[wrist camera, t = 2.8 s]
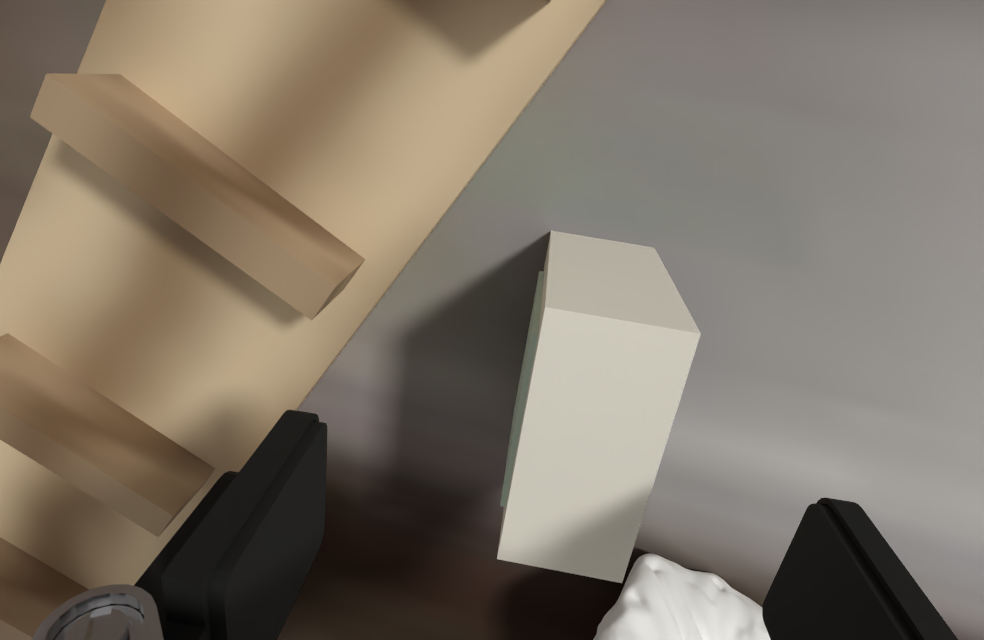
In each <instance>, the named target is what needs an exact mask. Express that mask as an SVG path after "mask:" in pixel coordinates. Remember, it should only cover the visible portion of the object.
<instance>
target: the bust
mask: <svg viewBox="0 0 984 640" xmlns="http://www.w3.org/2000/svg"><path fill="white" fill-rule="evenodd" d="M593 640H771V639H770V637H769V634H768V632H767V629H766V627H765V624H764V621H763V616H762V607H761V606H759V605H758V604H757V603H755V602H754V601H752V600H751V599H750V598H748V597H746V596H744V595H743V594H741V593H739V592H738V591H736V590H734V589H733V588H731V587H730V586H729V585H728V584H727V583H726V582H725V581H724V580H723V579H722V578H720V577H719V576H717V575H715V574H713V573H707V572H700V571H692V570H689V569H686V568H684V567H682V566H680V565H678V564H676V563H674V562H672V561H669V560H667V559H665V558H663V557H661V556H658V555H656V554H644V555H642V556H640V557H639V558H638V559H637V560H636V562H635V563H634V565H633V567H632V569H631V571H630V573H629V576H628V578H627V580H626V582H625V585H624V587H623V590H622V592H621V594H620V596H619V598H618V600H617V602H616V603H615V605H614V606H613V607H612V608H611V609H610V610H609V611H608V612H607V613H606V614H605V616H604V617H603V619H602V621H601V623H600V624H599V625H598V627H597V634H596V636H595V637H594V639H593Z"/></svg>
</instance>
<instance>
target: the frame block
mask: <svg viewBox="0 0 984 640" xmlns="http://www.w3.org/2000/svg"><path fill="white" fill-rule="evenodd" d="M700 335H701V333H700V331H699V330H698V328H697V326H696V324H695V322H694V320H693V318H692V317H691V315H690V313H689V311H688V309H687V307H686V305H685V304H684V302H683V300H682V298H681V296H680V294H679V293H678V291H677V289H676V287H675V285H674V283H673V281H672V280H671V278H670V276H669V274H668V272H667V270H666V268H665V267H664V265H663V263H662V261H661V259H660V257H659V256H658V254H657V252H656V250H655V248H652V247H646V246H640V245H634V244H628V243H622V242H616V241H610V240H604V239H598V238H592V237H586V236H580V235H574V234H568V233H562V232H556V231H551V233H550V239H549V244H548V249H547V255H546V260H545V266H544V271H539V275H538V281H537V287H536V292H535V298H534V303H533V309H532V314H531V320H530V325H529V331H528V336H527V342H526V347H525V353H524V358H523V364H522V369H521V375H520V380H519V386H518V391H517V397H516V402H515V408H514V413H513V420H512V427H511V434H510V441H509V448H508V454H507V461H506V468H505V475H504V482H503V489H502V495H501V502H500V506H503V507H504V511H503V519H502V526H501V533H500V541H499V548H498V555H497V559H500V560H505V561H510V562H515V563H520V564H526V565H531V566H536V567H541V568H546V569H551V570H556V571H562V572H567V573H572V574H577V575H582V576H587V577H592V578H598V579H603V580H608V581H613V582H618V583H622V582H623V579H624V576H625V573H626V569H627V566H628V563H629V560H630V557H631V554H632V550H633V547H634V544H635V541H636V538H637V535H638V531H639V528H640V525H641V522H642V519H643V516H644V512H645V509H646V506H647V503H648V500H649V497H650V493H651V490H652V487H653V484H654V481H655V478H656V474H657V471H658V468H659V465H660V462H661V459H662V455H663V452H664V449H665V446H666V443H667V440H668V436H669V433H670V430H671V427H672V424H673V420H674V417H675V414H676V411H677V408H678V405H679V401H680V398H681V395H682V392H683V389H684V386H685V382H686V379H687V376H688V373H689V370H690V367H691V363H692V360H693V357H694V354H695V351H696V348H697V344H698V341H699V338H700Z"/></svg>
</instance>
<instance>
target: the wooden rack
mask: <svg viewBox="0 0 984 640" xmlns="http://www.w3.org/2000/svg"><path fill="white" fill-rule="evenodd" d="M606 1H607V0H106V2H105V5H104V7H103V10H102V12H101V15H100V17H99V20H98V22H97V25H96V27H95V30H94V32H93V35H92V37H91V40H90V42H89V45H88V47H87V50H86V52H85V55H84V57H83V60H82V62H81V65H80V67H79V70H78V72H77V74H46V76H45V78H44V81H43V84H42V86H41V89H40V92H39V94H38V97H37V99H36V102H35V105H34V107H33V110H32V113H31V115H30V118H32V119H33V120H35V121H36V122H37V123H39V124H40V125H42V126H43V127H44V128H46V129H47V130H48V131H50V132H51V133H53V134H52V137H51V139H50V142H49V144H48V147H47V149H46V152H45V154H44V157H43V159H42V162H41V164H40V167H39V169H38V172H37V174H36V177H35V179H34V182H33V184H32V187H31V189H30V192H29V194H28V197H27V199H26V201H25V204H24V206H23V209H22V211H21V214H20V216H19V219H18V221H17V224H16V226H15V229H14V231H13V234H12V236H11V239H10V241H9V244H8V246H7V249H6V251H5V254H4V256H3V259H2V261H1V264H0V640H31V639H32V637H33V635H34V633H35V632H36V630H37V629H38V627H39V625H40V624H41V622H42V621H43V620H44V619H45V618H46V617H47V616H49V615H50V614H51V613H52V612H53V611H54V610H55V609H56V608H57V607H59V606H60V605H62V604H63V603H65V602H66V601H68V600H69V599H71V598H72V597H74V596H77V595H79V594H81V593H84V592H86V591H88V590H90V589H94V588H98V587H102V586H106V585H115V584H128V585H132V586H134V585H135V583H136V582H137V581H138V580H139V578H140V577H141V576H142V575H143V573H144V572H145V571H146V570H147V568H148V567H149V566H150V564H151V563H152V562H153V561H154V559H155V558H156V557H157V556H158V554H159V553H160V552H161V551H162V549H163V548H164V547H165V546H166V544H167V543H168V542H169V541H170V539H171V538H172V537H173V536H174V534H175V533H176V532H177V531H178V529H179V528H180V527H181V526H182V524H183V523H184V522H185V520H186V519H187V518H188V517H189V515H190V514H191V513H192V512H193V510H194V509H195V508H196V507H197V505H198V504H199V503H200V502H201V500H202V499H203V498H204V497H205V495H206V494H207V493H208V492H209V490H210V489H211V488H212V487H213V485H214V484H215V483H216V482H217V480H218V479H219V478H220V477H221V476H222V475H223V474H224V473H226V472H228V471H234V472H239V471H240V470H241V469H242V467H243V466H244V465H245V464H246V462H247V461H248V460H249V458H250V457H251V456H252V454H253V453H254V452H255V450H256V449H257V448H258V446H259V445H260V444H261V442H262V441H263V440H264V438H265V437H266V436H267V435H268V433H269V432H270V431H271V429H272V428H273V427H274V425H275V424H276V423H277V421H278V420H279V419H280V417H281V416H282V415H283V413H284V412H285V411H286V410H295V411H297V409H298V408H299V407H300V405H301V404H302V403H303V401H304V400H305V399H306V397H307V396H308V395H309V393H310V392H311V391H312V390H313V388H314V387H315V386H316V384H317V383H318V382H319V380H320V379H321V378H322V376H323V375H324V374H325V372H326V371H327V370H328V368H329V367H330V366H331V364H332V363H333V362H334V360H335V359H336V358H337V357H338V355H339V354H340V353H341V351H342V350H343V349H344V347H345V346H346V345H347V343H348V342H349V341H350V339H351V338H352V337H353V335H354V334H355V333H356V331H357V330H358V329H359V327H360V326H361V325H362V323H363V322H364V321H365V320H366V318H367V317H368V316H369V314H370V313H371V312H372V310H373V309H374V308H375V306H376V305H377V304H378V302H379V301H380V300H381V298H382V297H383V296H384V294H385V293H386V292H387V290H388V289H389V288H390V287H391V285H392V284H393V283H394V281H395V280H396V279H397V277H398V276H399V275H400V273H401V272H402V271H403V269H404V268H405V267H406V265H407V264H408V263H409V261H410V260H411V259H412V257H413V256H414V255H415V254H416V252H417V251H418V250H419V248H420V247H421V246H422V244H423V243H424V242H425V240H426V239H427V238H428V236H429V235H430V234H431V232H432V231H433V230H434V228H435V227H436V226H437V224H438V223H439V222H440V221H441V219H442V218H443V217H444V215H445V214H446V213H447V211H448V210H449V209H450V207H451V206H452V205H453V203H454V202H455V201H456V199H457V198H458V197H459V195H460V194H461V193H462V191H463V190H464V189H465V188H466V186H467V185H468V184H469V182H470V181H471V180H472V178H473V177H474V176H475V174H476V173H477V172H478V170H479V169H480V168H481V166H482V165H483V164H484V162H485V161H486V160H487V158H488V157H489V156H490V154H491V153H492V152H493V151H494V149H495V148H496V147H497V145H498V144H499V143H500V141H501V140H502V139H503V137H504V136H505V135H506V133H507V132H508V131H509V129H510V128H511V127H512V125H513V124H514V123H515V121H516V120H517V119H518V118H519V116H520V115H521V114H522V112H523V111H524V110H525V108H526V107H527V106H528V104H529V103H530V102H531V100H532V99H533V98H534V96H535V95H536V94H537V92H538V91H539V90H540V88H541V87H542V86H543V85H544V83H545V82H546V81H547V79H548V78H549V77H550V75H551V74H552V73H553V71H554V70H555V69H556V67H557V66H558V65H559V63H560V62H561V61H562V59H563V58H564V57H565V55H566V54H567V53H568V52H569V50H570V49H571V48H572V46H573V45H574V44H575V42H576V41H577V40H578V38H579V37H580V36H581V34H582V33H583V32H584V30H585V29H586V28H587V26H588V25H589V24H590V22H591V21H592V20H593V19H594V17H595V16H596V15H597V13H598V12H599V11H600V9H601V8H602V7H603V5H604V4H605V3H606Z"/></svg>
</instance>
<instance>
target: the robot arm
mask: <svg viewBox="0 0 984 640" xmlns="http://www.w3.org/2000/svg"><path fill="white" fill-rule="evenodd" d="M326 459H327V424H326V423H322V422H319V418H318V415H317V414H314V413H308V412H301V411H295V410H286V411H285V412H284V413H283V415H282V416H281V417H280V419H279V420H278V421H277V423H276V424H275V425H274V427H273V428H272V429H271V431H270V432H269V433H268V435H267V436H266V437H265V438H264V440H263V441H262V442H261V444H260V445H259V446H258V448H257V449H256V450H255V452H254V453H253V454H252V456H251V457H250V458H249V460H248V461H247V462H246V464H245V465H244V466H243V467H242V469H241V470H240V471H239V472H234V471H228V472H226V473H224V474H223V475H222V476H221V477H220V478H219V479H218V480H217V482H216V483H215V484H214V485H213V487H212V488H211V489H210V490H209V492H208V493H207V494H206V495H205V497H204V498H203V499H202V500H201V502H200V503H199V504H198V505H197V507H196V508H195V509H194V510H193V512H192V513H191V514H190V515H189V517H188V518H187V519H186V520H185V522H184V523H183V524H182V526H181V527H180V528H179V529H178V531H177V532H176V533H175V534H174V536H173V537H172V538H171V539H170V541H169V542H168V543H167V544H166V546H165V547H164V548H163V549H162V551H161V552H160V553H159V554H158V556H157V557H156V558H155V559H154V561H153V562H152V563H151V564H150V566H149V567H148V568H147V570H146V571H145V572H144V573H143V575H142V576H141V577H140V578H139V580H138V581H137V582H136V583H135V585H134V586H132V585H128V584H115V585H106V586H102V587H98V588H94V589H90V590H88V591H86V592H84V593H81V594H79V595H77V596H74V597H72V598H71V599H69V600H68V601H66V602H65V603H63V604H62V605H60V606H59V607H57V608H56V609H55V610H54V611H53V612H52V613H51V614H50V615H49V616H47V617H46V618H45V619H44V620H43V621H42V622H41V624H40V625H39V627H38V629H37V630H36V632H35V633H34V635H33V637H32V639H31V640H277V638H278V636H279V634H280V632H281V630H282V627H283V625H284V623H285V621H286V619H287V617H288V615H289V612H290V610H291V608H292V606H293V604H294V602H295V600H296V598H297V595H298V593H299V591H300V589H301V587H302V585H303V583H304V580H305V578H306V576H307V574H308V572H309V570H310V568H311V566H312V563H313V561H314V559H315V557H316V555H317V553H318V551H319V548H320V546H321V543H322V540H323V536H324V529H325V497H326ZM762 616H763V621H764V624H765V627H766V629H767V632H768V634H769V637H770V639H771V640H958V639H957V638H956V636H955V635H954V633H953V632H952V631H951V629H950V628H949V627H948V625H947V624H946V623H945V621H944V620H943V618H942V617H941V616H940V614H939V613H938V612H937V610H936V609H935V607H934V606H933V605H932V603H931V602H930V601H929V599H928V598H927V597H926V595H925V594H924V592H923V591H922V590H921V588H920V587H919V586H918V584H917V583H916V581H915V580H914V579H913V577H912V576H911V575H910V573H909V572H908V571H907V569H906V568H905V566H904V565H903V564H902V562H901V561H900V560H899V558H898V557H897V555H896V554H895V553H894V551H893V550H892V549H891V547H890V546H889V545H888V543H887V542H886V540H885V539H884V538H883V536H882V535H881V534H880V532H879V531H878V529H877V528H876V527H875V525H874V524H873V523H872V521H871V520H870V519H869V517H868V516H867V514H866V513H865V512H864V510H863V509H862V508H861V507H860V506H859V505H858V504H856V503H854V502H849V501H842V500H836V499H830V498H821V499H820V500H819V501H818V502H817V503H816V504H811V505H809V506H808V508H807V510H806V512H805V514H804V516H803V518H802V520H801V522H800V525H799V527H798V529H797V531H796V533H795V535H794V538H793V540H792V542H791V544H790V546H789V548H788V550H787V553H786V555H785V557H784V559H783V561H782V563H781V566H780V568H779V570H778V572H777V574H776V576H775V578H774V581H773V583H772V585H771V587H770V589H769V591H768V593H767V596H766V598H765V600H764V603H763V608H762Z"/></svg>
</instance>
